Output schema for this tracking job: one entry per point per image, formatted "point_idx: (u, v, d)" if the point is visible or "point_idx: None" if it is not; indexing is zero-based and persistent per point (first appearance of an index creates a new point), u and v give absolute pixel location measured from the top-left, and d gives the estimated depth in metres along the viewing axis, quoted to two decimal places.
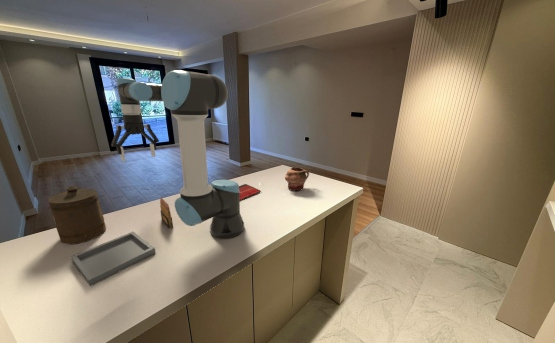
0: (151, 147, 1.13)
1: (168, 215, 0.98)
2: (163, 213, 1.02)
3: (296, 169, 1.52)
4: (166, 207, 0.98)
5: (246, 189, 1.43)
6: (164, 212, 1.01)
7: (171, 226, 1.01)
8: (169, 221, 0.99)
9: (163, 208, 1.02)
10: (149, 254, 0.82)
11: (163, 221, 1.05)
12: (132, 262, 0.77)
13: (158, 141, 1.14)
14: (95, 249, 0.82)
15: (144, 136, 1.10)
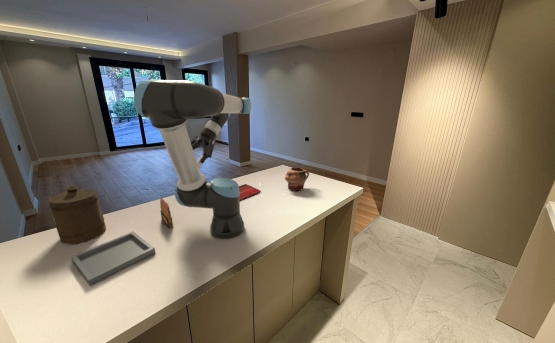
0: None
1: (168, 215, 0.98)
2: (163, 213, 1.02)
3: (296, 169, 1.52)
4: (166, 207, 0.98)
5: (246, 189, 1.43)
6: (164, 212, 1.01)
7: (171, 226, 1.01)
8: (169, 221, 0.99)
9: (163, 208, 1.02)
10: (149, 254, 0.82)
11: (163, 221, 1.05)
12: (132, 262, 0.77)
13: (207, 154, 1.03)
14: (95, 249, 0.82)
15: None
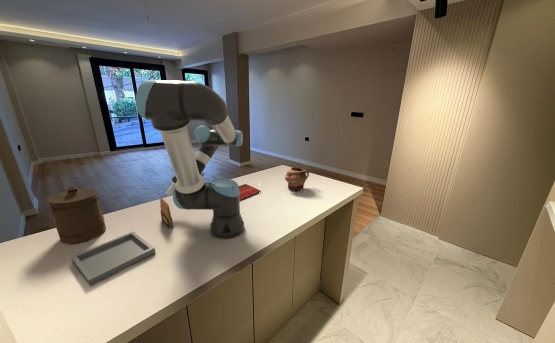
0: None
1: (168, 215, 0.98)
2: (163, 213, 1.02)
3: (296, 169, 1.52)
4: (166, 207, 0.98)
5: (246, 189, 1.43)
6: (164, 212, 1.01)
7: (171, 226, 1.01)
8: (169, 221, 0.99)
9: (163, 208, 1.02)
10: (149, 254, 0.82)
11: (163, 221, 1.05)
12: (132, 262, 0.77)
13: None
14: (95, 249, 0.82)
15: None
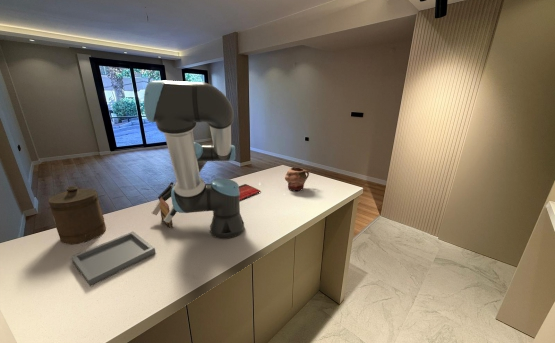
0: None
1: None
2: (163, 213, 1.03)
3: (296, 169, 1.52)
4: (166, 207, 0.98)
5: (246, 189, 1.43)
6: (164, 212, 1.01)
7: (171, 226, 1.01)
8: None
9: (163, 208, 1.02)
10: (149, 254, 0.82)
11: (163, 221, 1.05)
12: (132, 262, 0.77)
13: None
14: (95, 249, 0.82)
15: None
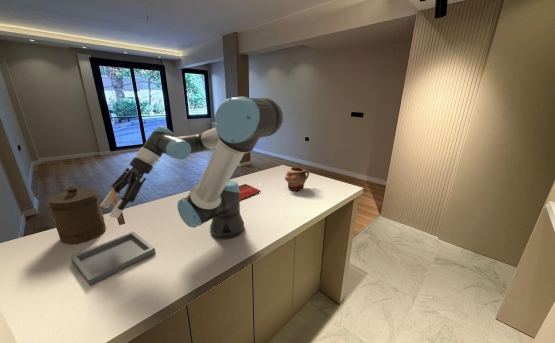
0: None
1: None
2: None
3: (296, 169, 1.52)
4: None
5: (246, 189, 1.43)
6: None
7: (122, 222, 0.81)
8: None
9: None
10: (149, 254, 0.82)
11: None
12: (132, 262, 0.77)
13: (125, 199, 0.77)
14: (95, 249, 0.82)
15: None
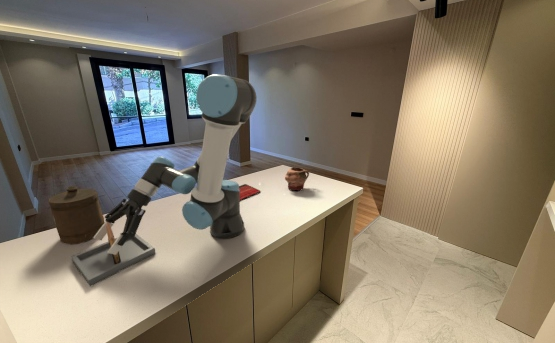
0: None
1: None
2: (109, 243, 0.79)
3: (296, 169, 1.52)
4: (110, 237, 0.75)
5: (246, 190, 1.42)
6: None
7: (118, 261, 0.78)
8: (115, 255, 0.76)
9: (109, 237, 0.79)
10: (149, 254, 0.82)
11: None
12: (132, 262, 0.77)
13: (126, 234, 0.74)
14: (95, 249, 0.82)
15: (130, 222, 0.79)
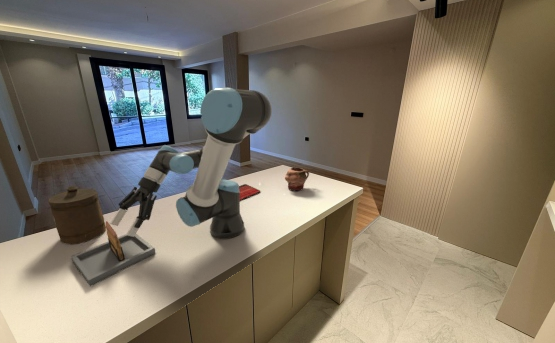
0: None
1: (116, 245, 0.77)
2: (111, 242, 0.80)
3: (296, 169, 1.52)
4: (112, 235, 0.76)
5: (246, 190, 1.42)
6: (111, 241, 0.79)
7: (122, 258, 0.79)
8: (118, 252, 0.78)
9: (110, 235, 0.79)
10: (149, 254, 0.82)
11: (112, 251, 0.83)
12: (132, 262, 0.77)
13: (142, 217, 0.80)
14: (95, 249, 0.82)
15: (143, 207, 0.85)
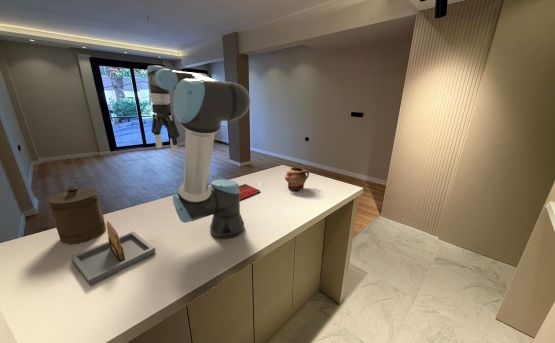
0: None
1: (117, 245, 0.77)
2: (111, 241, 0.80)
3: (296, 169, 1.52)
4: (114, 235, 0.76)
5: (246, 190, 1.42)
6: (112, 240, 0.79)
7: (122, 258, 0.79)
8: (119, 252, 0.78)
9: (111, 235, 0.80)
10: (149, 254, 0.82)
11: (112, 251, 0.83)
12: (132, 262, 0.77)
13: (173, 136, 0.98)
14: (95, 249, 0.82)
15: None
